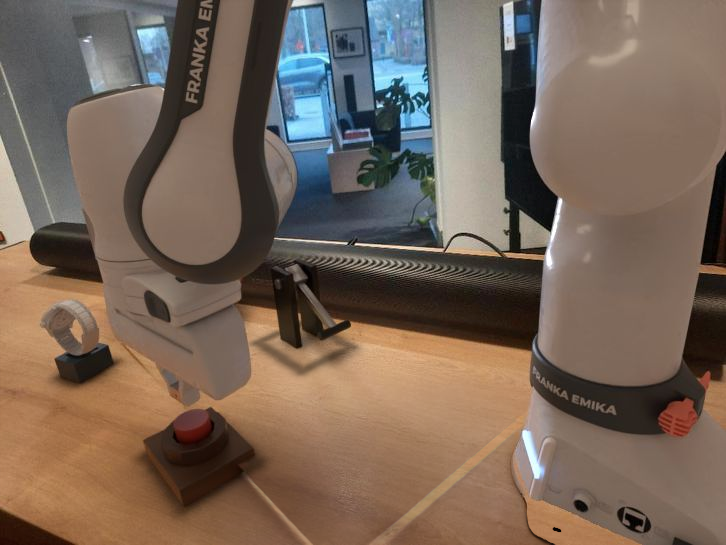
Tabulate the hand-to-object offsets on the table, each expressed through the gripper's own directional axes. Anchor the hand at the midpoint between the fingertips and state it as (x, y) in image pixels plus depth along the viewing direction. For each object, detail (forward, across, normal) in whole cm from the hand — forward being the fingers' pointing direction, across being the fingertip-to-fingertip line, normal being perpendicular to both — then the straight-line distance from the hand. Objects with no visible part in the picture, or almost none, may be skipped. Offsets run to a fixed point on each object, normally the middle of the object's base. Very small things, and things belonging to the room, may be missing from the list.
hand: (185, 399), depth 51 cm
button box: (+8, 0, 0) cm, 8 cm away
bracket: (+8, -8, +24) cm, 26 cm away
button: (+4, 0, 0) cm, 4 cm away
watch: (+8, -30, 0) cm, 31 cm away
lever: (0, -5, +23) cm, 24 cm away
